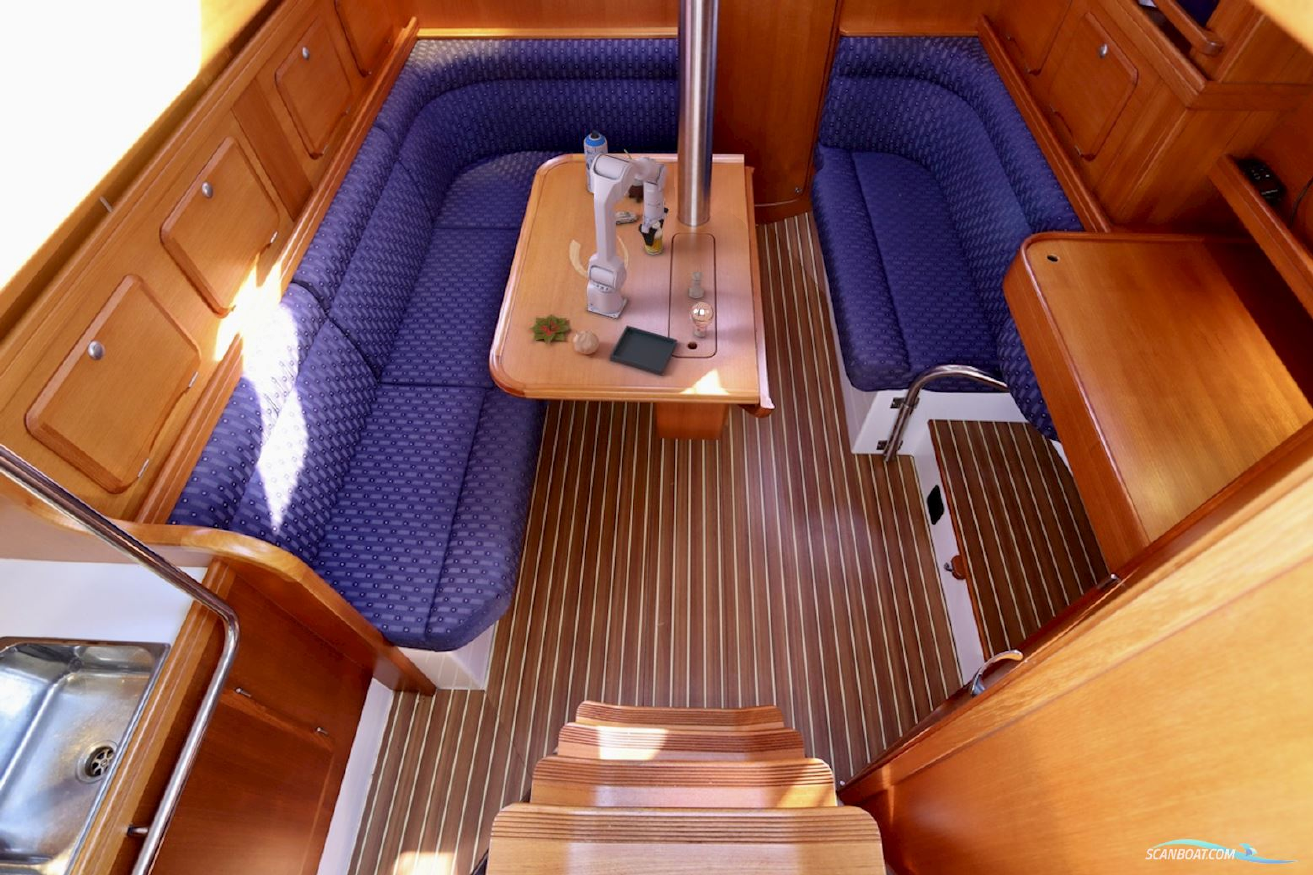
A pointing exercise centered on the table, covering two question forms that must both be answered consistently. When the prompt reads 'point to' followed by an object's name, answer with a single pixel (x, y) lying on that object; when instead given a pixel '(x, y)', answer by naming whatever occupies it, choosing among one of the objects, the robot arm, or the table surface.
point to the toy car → (624, 217)
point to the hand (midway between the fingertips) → (653, 237)
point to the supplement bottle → (655, 241)
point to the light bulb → (701, 317)
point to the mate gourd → (636, 187)
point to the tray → (643, 350)
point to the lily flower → (549, 328)
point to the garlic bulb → (585, 342)
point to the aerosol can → (593, 150)
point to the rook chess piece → (696, 285)
